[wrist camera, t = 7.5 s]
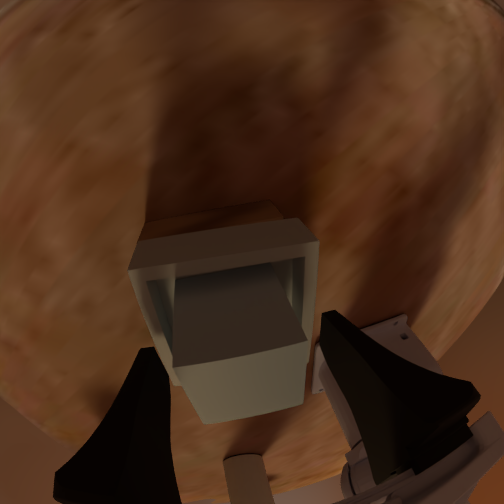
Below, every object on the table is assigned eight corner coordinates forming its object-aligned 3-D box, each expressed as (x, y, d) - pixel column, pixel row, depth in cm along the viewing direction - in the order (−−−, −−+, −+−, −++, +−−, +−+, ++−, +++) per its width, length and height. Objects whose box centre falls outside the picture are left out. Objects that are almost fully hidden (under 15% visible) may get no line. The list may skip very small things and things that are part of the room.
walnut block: (267, 197, 16) (283, 216, 13) (275, 295, 19) (288, 324, 16) (146, 220, 15) (136, 243, 12) (175, 315, 18) (174, 346, 16)
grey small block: (269, 262, 13) (308, 340, 9) (274, 329, 15) (303, 403, 11) (175, 280, 12) (172, 367, 8) (196, 344, 14) (204, 424, 10)
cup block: (297, 217, 13) (319, 240, 11) (294, 331, 17) (308, 362, 15) (138, 241, 12) (127, 270, 10) (174, 352, 16) (174, 386, 14)
